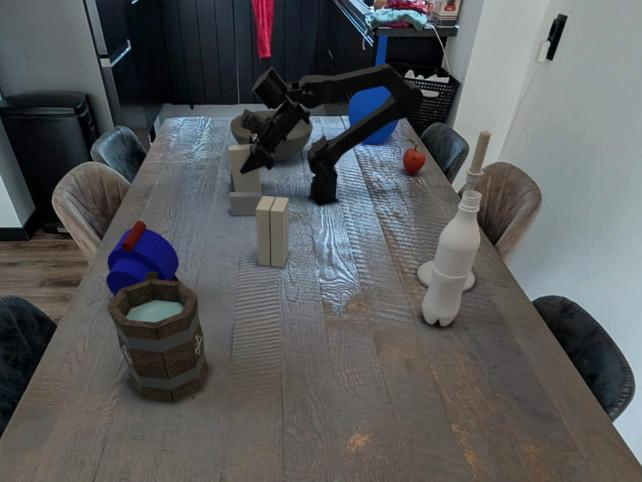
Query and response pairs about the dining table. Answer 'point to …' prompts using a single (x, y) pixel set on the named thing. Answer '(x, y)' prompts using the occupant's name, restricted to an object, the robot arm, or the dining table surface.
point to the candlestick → (472, 180)
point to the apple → (413, 160)
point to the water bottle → (453, 262)
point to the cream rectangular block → (237, 160)
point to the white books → (272, 230)
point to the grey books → (243, 201)
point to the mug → (160, 337)
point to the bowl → (285, 149)
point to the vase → (372, 101)
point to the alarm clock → (140, 258)
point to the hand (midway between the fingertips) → (240, 170)
